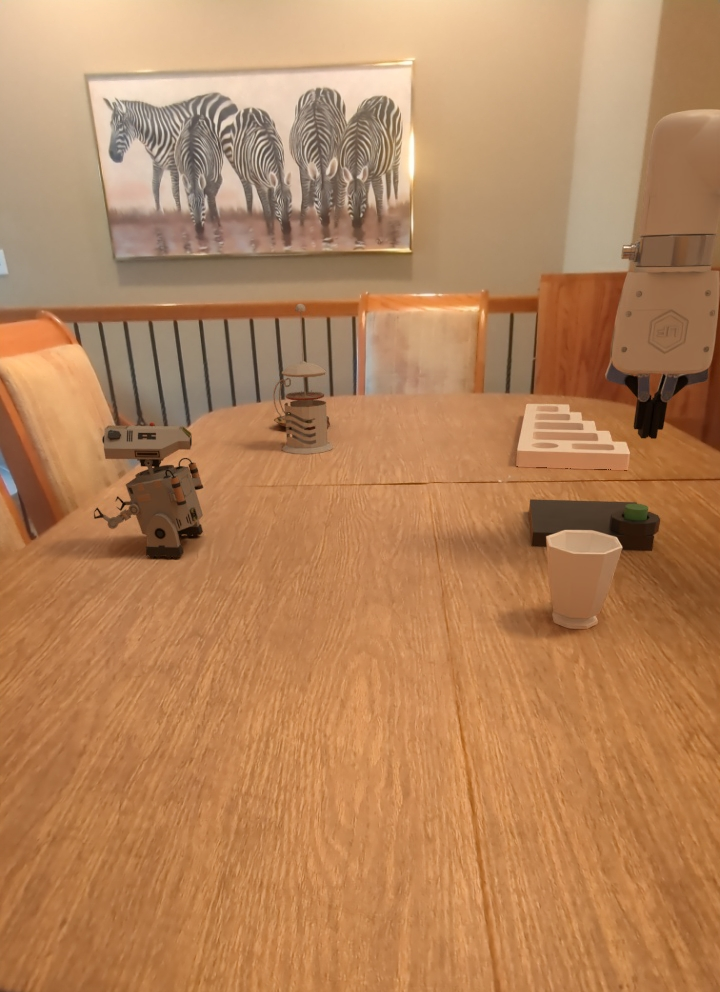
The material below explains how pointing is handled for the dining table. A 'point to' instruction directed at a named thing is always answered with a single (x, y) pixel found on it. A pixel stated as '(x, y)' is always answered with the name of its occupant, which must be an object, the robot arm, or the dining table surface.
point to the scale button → (636, 512)
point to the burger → (283, 422)
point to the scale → (591, 521)
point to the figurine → (157, 486)
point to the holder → (566, 441)
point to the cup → (580, 575)
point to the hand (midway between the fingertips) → (646, 435)
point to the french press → (304, 410)
